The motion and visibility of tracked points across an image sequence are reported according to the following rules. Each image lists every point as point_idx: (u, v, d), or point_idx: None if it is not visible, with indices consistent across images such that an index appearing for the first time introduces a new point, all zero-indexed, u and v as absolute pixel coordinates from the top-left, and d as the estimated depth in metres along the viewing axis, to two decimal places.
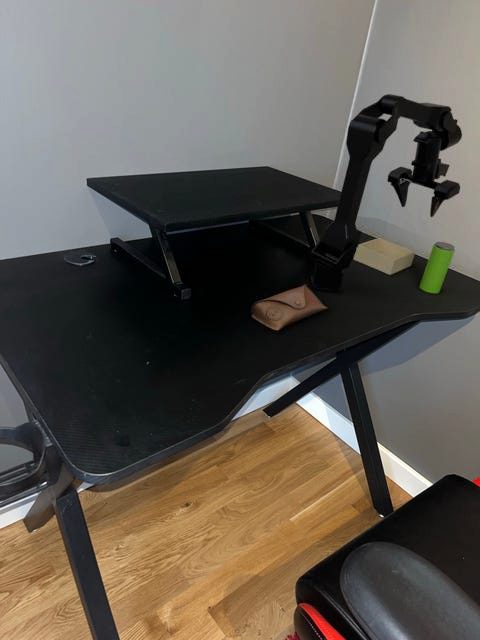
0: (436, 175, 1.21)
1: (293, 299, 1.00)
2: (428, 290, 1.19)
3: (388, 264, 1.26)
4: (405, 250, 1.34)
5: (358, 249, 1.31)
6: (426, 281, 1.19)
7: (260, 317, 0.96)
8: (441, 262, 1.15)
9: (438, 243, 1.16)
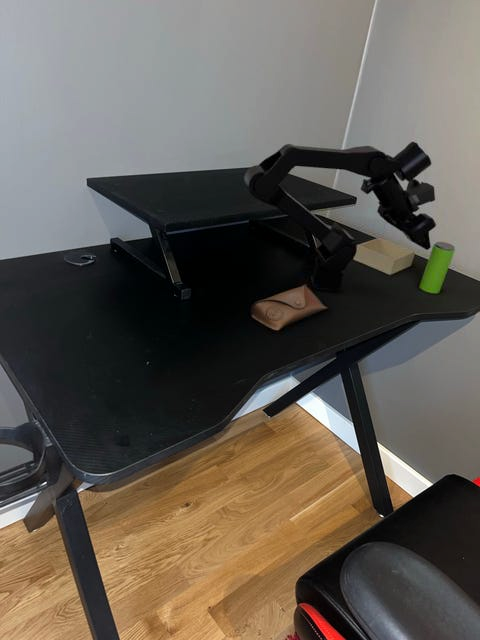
0: (412, 208, 1.06)
1: (293, 299, 1.00)
2: (428, 290, 1.19)
3: (388, 264, 1.26)
4: (405, 250, 1.34)
5: (358, 249, 1.31)
6: (426, 281, 1.19)
7: (260, 317, 0.96)
8: (441, 262, 1.15)
9: (438, 243, 1.16)
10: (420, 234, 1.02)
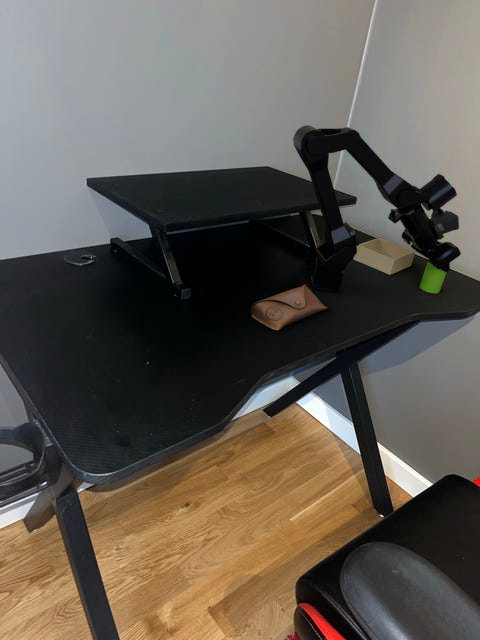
0: (437, 236, 1.11)
1: (293, 299, 1.00)
2: (428, 290, 1.19)
3: (388, 264, 1.26)
4: (405, 250, 1.34)
5: (358, 249, 1.31)
6: (426, 281, 1.19)
7: (260, 317, 0.96)
8: None
9: None
10: (446, 262, 1.07)
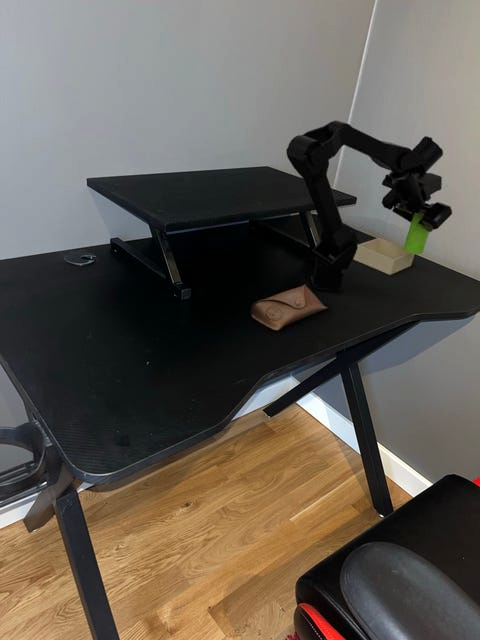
0: (425, 198, 1.14)
1: (293, 299, 1.00)
2: (414, 252, 1.23)
3: (388, 264, 1.26)
4: None
5: (358, 249, 1.31)
6: (412, 243, 1.22)
7: (260, 317, 0.96)
8: None
9: None
10: (441, 222, 1.10)
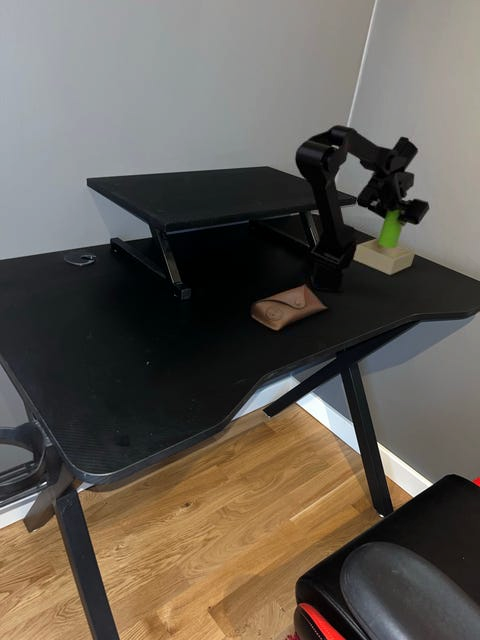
0: (402, 195, 1.19)
1: (293, 299, 1.00)
2: (391, 246, 1.29)
3: (388, 264, 1.26)
4: (405, 250, 1.34)
5: (358, 249, 1.31)
6: (389, 238, 1.28)
7: (260, 317, 0.96)
8: None
9: None
10: (421, 217, 1.17)
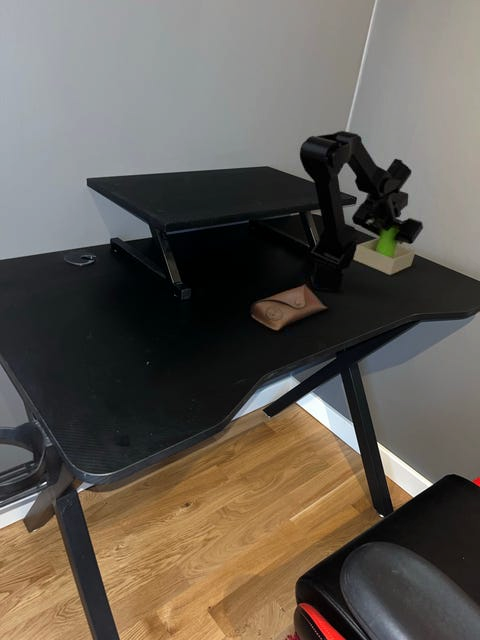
0: (397, 215, 1.22)
1: (293, 299, 1.00)
2: None
3: (388, 264, 1.26)
4: (405, 250, 1.34)
5: (358, 249, 1.31)
6: None
7: (260, 317, 0.96)
8: None
9: None
10: (415, 236, 1.19)
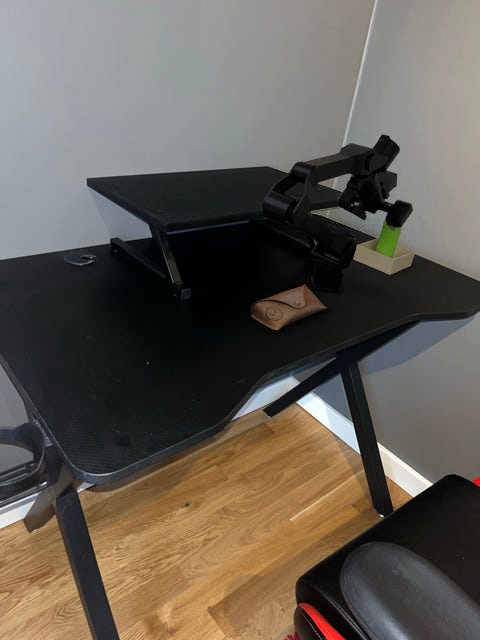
0: (385, 196, 1.13)
1: (293, 299, 1.00)
2: None
3: (388, 264, 1.26)
4: (405, 250, 1.34)
5: (358, 249, 1.31)
6: None
7: (260, 317, 0.96)
8: (396, 236, 1.27)
9: None
10: (404, 219, 1.10)
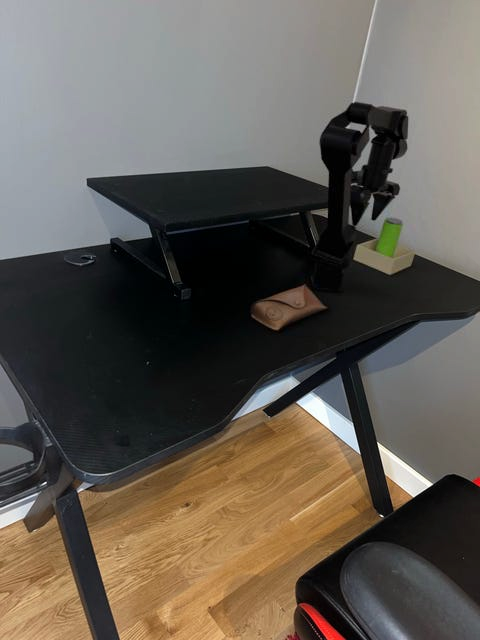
0: None
1: (293, 299, 1.00)
2: None
3: (388, 264, 1.26)
4: (405, 250, 1.34)
5: (358, 249, 1.31)
6: None
7: (260, 317, 0.97)
8: (396, 236, 1.27)
9: (388, 219, 1.27)
10: None
